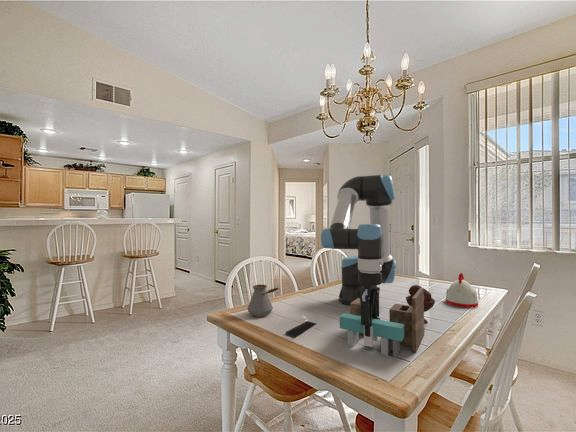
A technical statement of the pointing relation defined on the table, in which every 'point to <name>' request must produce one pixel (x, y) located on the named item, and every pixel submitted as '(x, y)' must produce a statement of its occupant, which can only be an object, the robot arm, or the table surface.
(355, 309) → the block
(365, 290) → the robot arm
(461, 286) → the white and red dome
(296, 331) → the phone
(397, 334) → the teal rail
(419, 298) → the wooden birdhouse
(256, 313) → the coffee pot
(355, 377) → the table surface
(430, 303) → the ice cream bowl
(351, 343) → the grey stand
